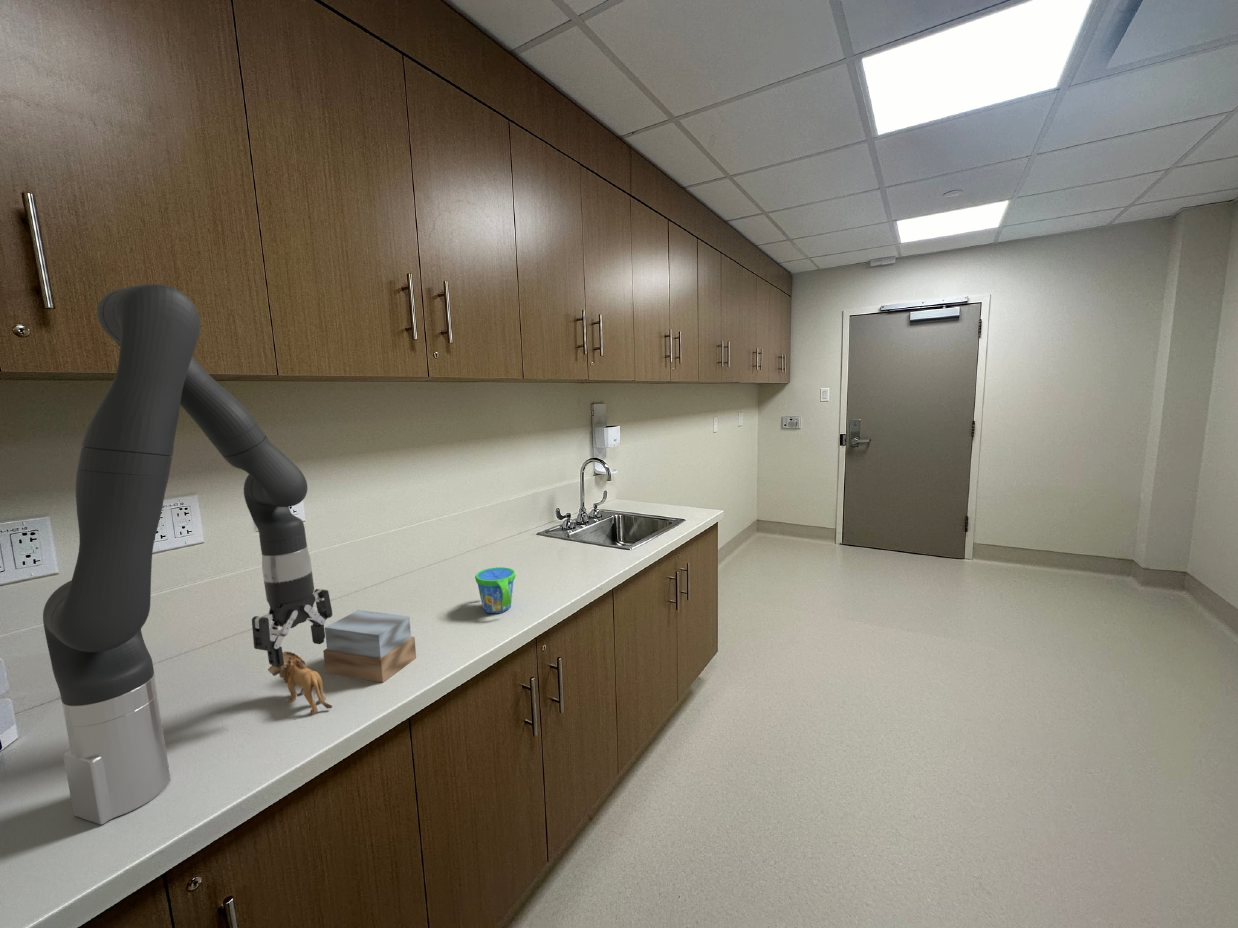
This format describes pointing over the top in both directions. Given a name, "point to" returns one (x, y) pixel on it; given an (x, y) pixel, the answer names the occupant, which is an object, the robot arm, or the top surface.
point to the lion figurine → (300, 679)
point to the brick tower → (369, 645)
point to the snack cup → (496, 588)
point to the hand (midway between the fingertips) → (299, 653)
